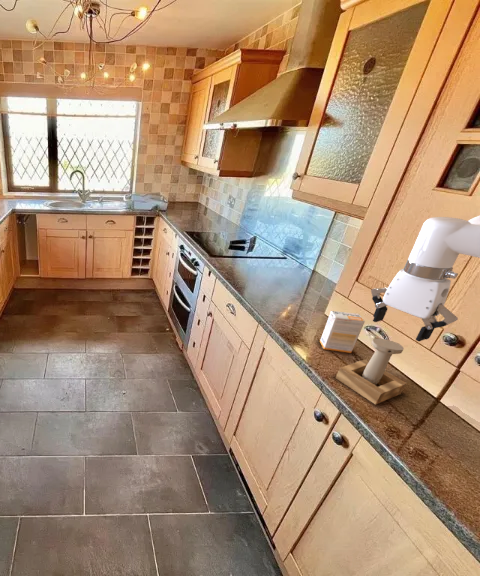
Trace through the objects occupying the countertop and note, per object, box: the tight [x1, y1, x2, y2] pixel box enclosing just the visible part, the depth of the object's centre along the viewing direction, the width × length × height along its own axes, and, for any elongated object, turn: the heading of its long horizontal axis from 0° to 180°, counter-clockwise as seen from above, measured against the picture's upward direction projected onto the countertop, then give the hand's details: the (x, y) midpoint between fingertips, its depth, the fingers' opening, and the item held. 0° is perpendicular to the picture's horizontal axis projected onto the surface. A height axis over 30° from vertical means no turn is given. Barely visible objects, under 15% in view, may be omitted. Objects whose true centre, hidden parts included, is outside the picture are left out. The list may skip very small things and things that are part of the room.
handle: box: [361, 337, 405, 386], centre depth 87 cm, size 5×6×15 cm
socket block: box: [335, 359, 408, 405], centre depth 89 cm, size 11×11×4 cm
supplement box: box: [319, 310, 366, 354], centre depth 104 cm, size 8×5×13 cm, turn 72°
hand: (398, 329), depth 81 cm, fingers open, 9 cm apart
